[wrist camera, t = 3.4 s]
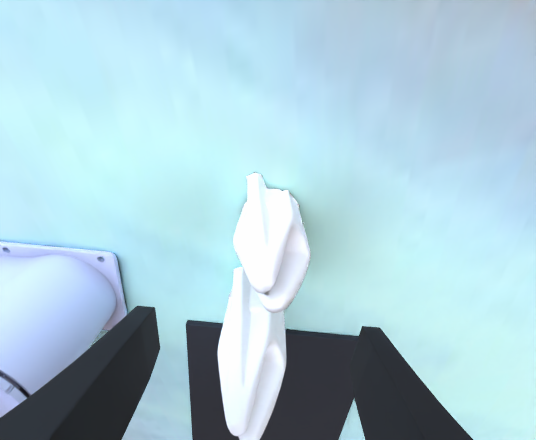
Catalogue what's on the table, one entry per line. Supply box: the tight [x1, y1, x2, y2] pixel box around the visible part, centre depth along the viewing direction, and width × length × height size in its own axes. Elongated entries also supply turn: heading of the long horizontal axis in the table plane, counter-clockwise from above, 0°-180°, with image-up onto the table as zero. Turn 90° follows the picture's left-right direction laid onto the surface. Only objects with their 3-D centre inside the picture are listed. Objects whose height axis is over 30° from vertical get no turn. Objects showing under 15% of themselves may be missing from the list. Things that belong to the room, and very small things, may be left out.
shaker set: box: [217, 173, 311, 440], centre depth 16 cm, size 12×4×11 cm, turn 171°
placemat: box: [186, 320, 359, 440], centre depth 28 cm, size 16×20×1 cm
